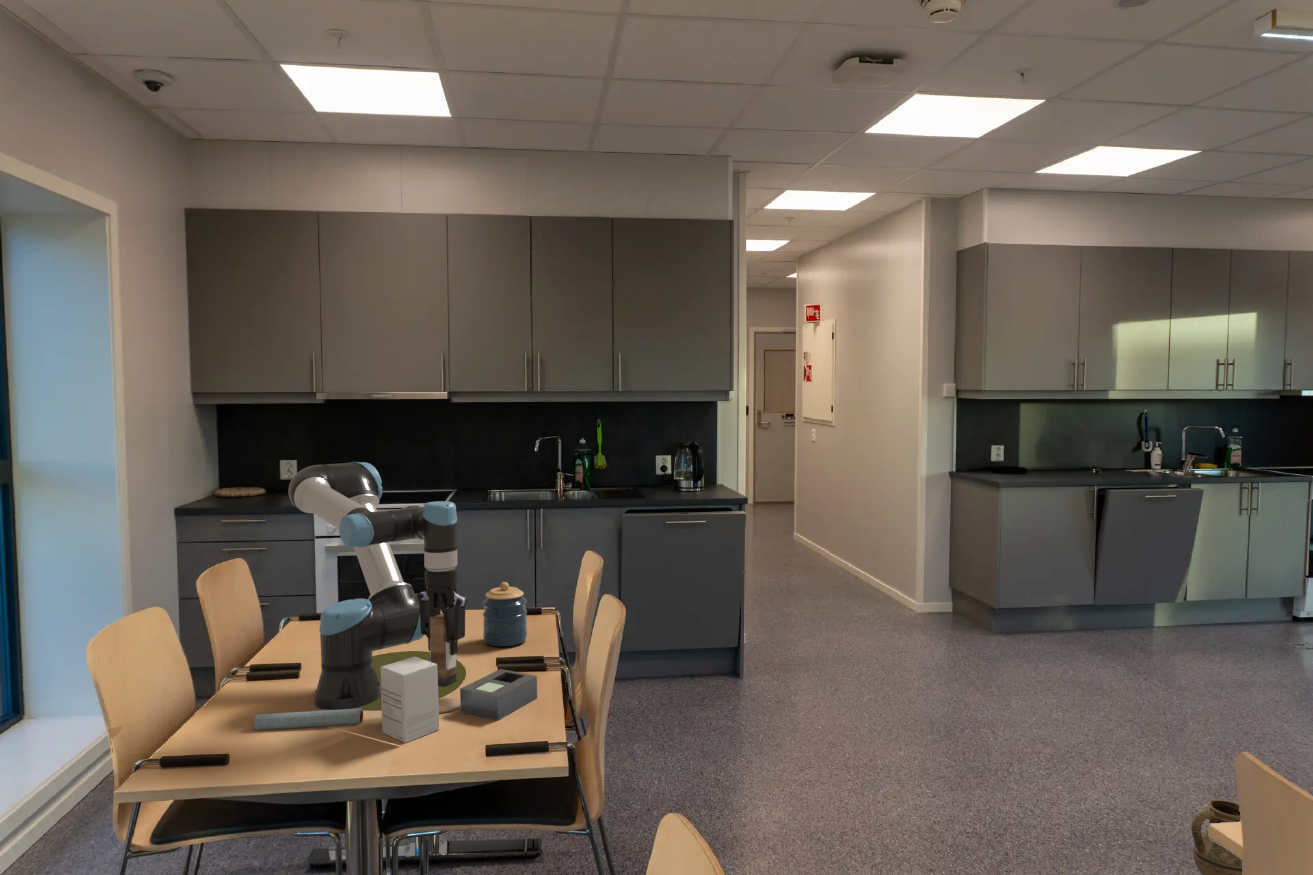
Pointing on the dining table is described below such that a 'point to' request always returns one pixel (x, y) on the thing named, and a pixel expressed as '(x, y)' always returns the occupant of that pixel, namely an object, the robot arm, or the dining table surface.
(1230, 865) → the decorative pitcher
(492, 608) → the canister
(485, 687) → the on button
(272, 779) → the dining table surface
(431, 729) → the supplement box
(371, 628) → the robot arm
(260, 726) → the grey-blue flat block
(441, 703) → the coaster
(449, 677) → the walnut bar
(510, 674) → the grey slotted holder
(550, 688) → the dining table surface
